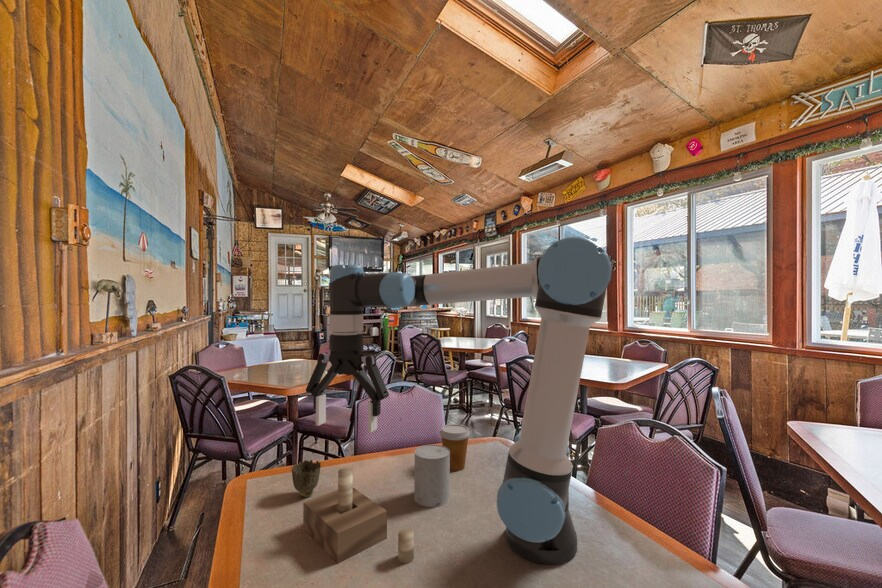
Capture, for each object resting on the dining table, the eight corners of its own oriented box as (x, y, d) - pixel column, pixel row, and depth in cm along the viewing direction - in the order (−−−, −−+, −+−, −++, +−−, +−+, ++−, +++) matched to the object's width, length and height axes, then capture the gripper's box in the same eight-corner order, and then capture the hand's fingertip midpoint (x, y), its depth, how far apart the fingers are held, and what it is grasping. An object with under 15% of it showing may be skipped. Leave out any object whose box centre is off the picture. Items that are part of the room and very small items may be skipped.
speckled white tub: (446, 509, 97) (446, 460, 97) (409, 505, 99) (410, 457, 99) (452, 490, 106) (452, 446, 106) (419, 487, 108) (419, 443, 108)
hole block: (386, 538, 85) (387, 510, 85) (337, 563, 77) (338, 533, 77) (349, 509, 96) (349, 485, 96) (303, 528, 88) (303, 502, 88)
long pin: (354, 533, 87) (355, 470, 87) (342, 539, 84) (342, 475, 85) (347, 527, 89) (348, 466, 89) (334, 532, 87) (335, 470, 87)
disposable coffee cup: (474, 464, 123) (475, 427, 123) (460, 476, 115) (460, 436, 115) (449, 458, 128) (449, 421, 128) (433, 468, 120) (434, 430, 120)
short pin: (416, 558, 78) (417, 533, 78) (404, 565, 76) (404, 540, 76) (407, 550, 81) (407, 526, 81) (394, 557, 78) (395, 533, 79)
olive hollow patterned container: (284, 499, 101) (285, 468, 101) (303, 486, 108) (303, 457, 108) (308, 504, 98) (308, 473, 98) (325, 491, 105) (326, 461, 105)
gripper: (403, 333, 86) (403, 427, 86) (311, 330, 95) (311, 416, 94) (388, 336, 79) (388, 439, 79) (290, 332, 88) (289, 426, 87)
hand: (346, 427), depth 87 cm, fingers open, 13 cm apart
